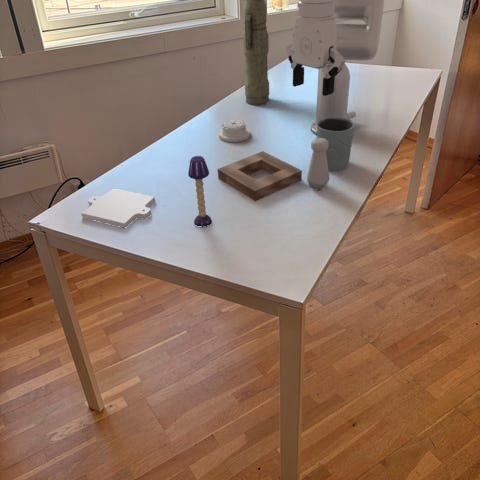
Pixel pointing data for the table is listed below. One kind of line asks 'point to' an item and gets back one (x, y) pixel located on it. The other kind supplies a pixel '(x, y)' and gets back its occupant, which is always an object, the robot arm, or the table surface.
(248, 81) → the green textured column
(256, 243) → the table surface
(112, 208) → the mounting plate
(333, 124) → the green embossed cup
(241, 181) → the holder board
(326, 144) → the salt shaker
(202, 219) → the toy lamp
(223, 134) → the mechanical component
